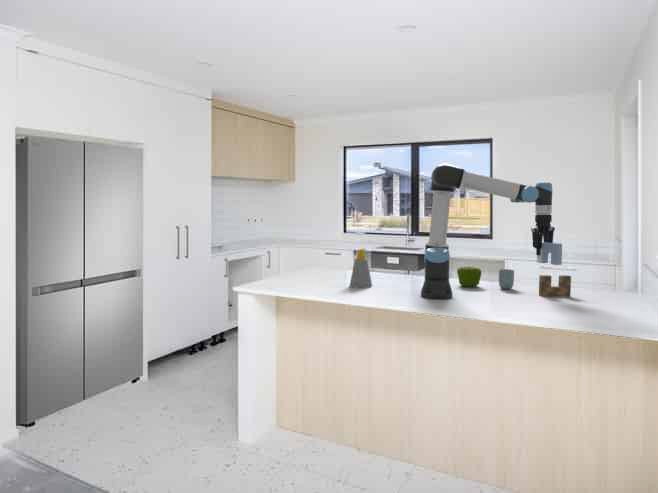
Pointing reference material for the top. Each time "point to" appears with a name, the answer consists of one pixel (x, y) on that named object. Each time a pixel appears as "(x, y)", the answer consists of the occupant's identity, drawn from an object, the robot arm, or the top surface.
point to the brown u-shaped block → (558, 291)
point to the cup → (506, 278)
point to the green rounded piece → (469, 276)
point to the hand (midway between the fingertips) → (542, 261)
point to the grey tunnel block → (552, 253)
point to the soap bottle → (361, 272)
